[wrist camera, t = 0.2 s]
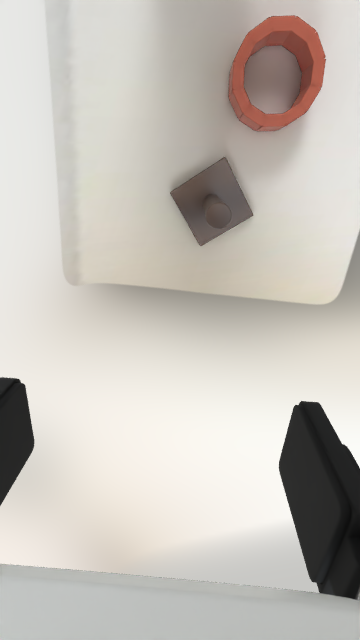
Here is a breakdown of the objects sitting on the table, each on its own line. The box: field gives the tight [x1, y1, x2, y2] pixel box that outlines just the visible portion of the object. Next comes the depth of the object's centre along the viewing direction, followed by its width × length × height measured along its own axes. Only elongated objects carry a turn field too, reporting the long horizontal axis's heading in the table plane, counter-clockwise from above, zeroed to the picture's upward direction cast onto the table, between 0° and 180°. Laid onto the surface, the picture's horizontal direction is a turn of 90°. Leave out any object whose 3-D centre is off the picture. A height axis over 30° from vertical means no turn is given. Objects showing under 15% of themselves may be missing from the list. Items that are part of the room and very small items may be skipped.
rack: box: [170, 157, 253, 246], centre depth 36 cm, size 8×8×14 cm
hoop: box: [229, 15, 326, 131], centre depth 35 cm, size 9×9×4 cm
